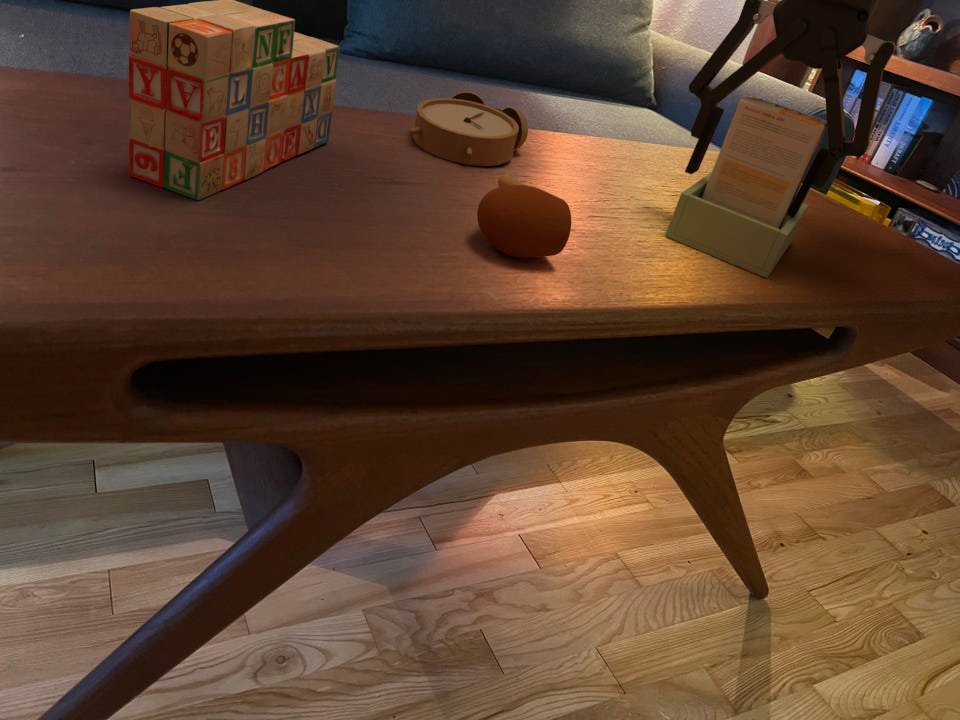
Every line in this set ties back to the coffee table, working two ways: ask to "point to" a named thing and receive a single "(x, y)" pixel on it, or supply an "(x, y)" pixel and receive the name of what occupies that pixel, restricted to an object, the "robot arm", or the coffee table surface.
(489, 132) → the alarm clock
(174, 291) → the coffee table surface
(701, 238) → the box
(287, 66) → the stack of blocks
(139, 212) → the coffee table surface
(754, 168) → the supplement box
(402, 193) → the coffee table surface
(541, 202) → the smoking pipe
